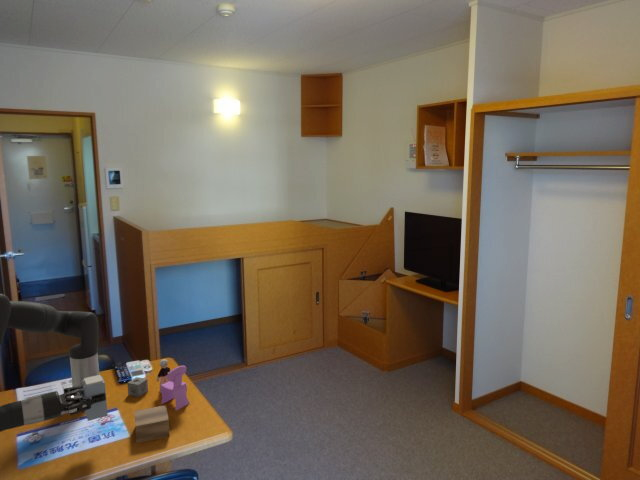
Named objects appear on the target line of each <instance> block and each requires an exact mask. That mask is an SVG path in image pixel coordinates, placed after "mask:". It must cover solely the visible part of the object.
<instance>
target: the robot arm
mask: <svg viewBox="0 0 640 480" xmlns="http://www.w3.org/2000/svg"><path fill="white" fill-rule="evenodd" d="M98 319H99V318H98V317H97V315H96V313H94V312H90V311H77V310H76V311H70V310H69V311H65V310H57V309H56V308H55V307H54V306H52V305H49V304H45V303H40V302H33V301H26V300H25V301H24V300H23V301H21V300H10V298H9V297H8V296H7V295H5V294H4V293H0V348H1V347H2V344H3V340H4V337H5V333H6V331H7V328H10V329H15V330H20V331H25V332H29V333H39V334H45V333H46V334H47V333H57V334H60V335H64V336H67V337H71V338H80V341H79V342H80V343H77V344H75V345H72V346H71V347H69V351H68V352H69V353H68V354H69V362H70V363H69V364H70V373H71V375H70V376H71V385H72V387H66V388H63V393H61V394H59V392H58V391H55V390H54V391H50V392H47V393H42V394H39V395H35V396H31V397H27V398H25V399H22V400H17V401H12V402H10V403H6V404H3V405H0V433H1V432H3V431H6V430H10V429H16V428H20V427H23V426H27V425H34V424H38V423H41V422H45V421H49V420H53V419H56V418H60V417H61V415H62V412H69V413H68V414H69V416H73V415H76V414H78V413H82V412H85V410H88V409H91V405H93V404H94V403H98V402H101V401H105V400H106V401H107V394H106V395H105V393H102V394H98V395H94V396H92V397H91V396H90V397H84V395H83V383H82V380H84V378H88V377H92V376H96V375H100V368H99V366H100V365H99V355H98V353H99V352H98V351H99V350H98V348H99V342H100V341H99V340H100V339H99V338H100V337H99V320H98ZM84 400H86V401H84ZM85 406H87V407H85Z"/></svg>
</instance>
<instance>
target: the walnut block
mask: <svg viewBox="0 0 640 480" xmlns="http://www.w3.org/2000/svg"><path fill="white" fill-rule="evenodd" d="M133 413H134V423H135V424H134V426H135V441H136V444H139V443H143V442H149V441H154V440H159V439H164V438H167V437H170V421H169V414H168V409H167V405H166V404H165V405H159V406H154V407H148V408H144V409H143V408H142V409H137V410H134V411H133Z"/></svg>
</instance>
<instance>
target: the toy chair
mask: <svg viewBox="0 0 640 480" xmlns="http://www.w3.org/2000/svg"><path fill="white" fill-rule="evenodd" d="M170 370H171V371H170V372H168V375H167V379H168V380H169V382H167V383H164V384H162V385H161V388H160V387H159V391H160V390H161V392H162V394H161V402H160V404H161V405H163V404H165V403H167V402H169V401H171V400H173V399H175V409H174V410H175V411H178V410H180V409H182V408H184V407H186V406H187V405H189V404H190V401H189V399H188V397H187V391H188V386H187V382H185V381H183V376H184V374H186V372H187V367H186V365H179V366H177V367H174V368H172V369H170Z"/></svg>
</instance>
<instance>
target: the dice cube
mask: <svg viewBox="0 0 640 480" xmlns="http://www.w3.org/2000/svg"><path fill="white" fill-rule="evenodd" d="M147 392H149V387H148V379H147V378H142V377H137V376H136V377H134V378H133V379H131V380H129V381H128V382H127V393H128V394H127V395H128V396H132V397H136V398H140V397H142V396H143V395H145V394H146V393H147Z"/></svg>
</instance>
